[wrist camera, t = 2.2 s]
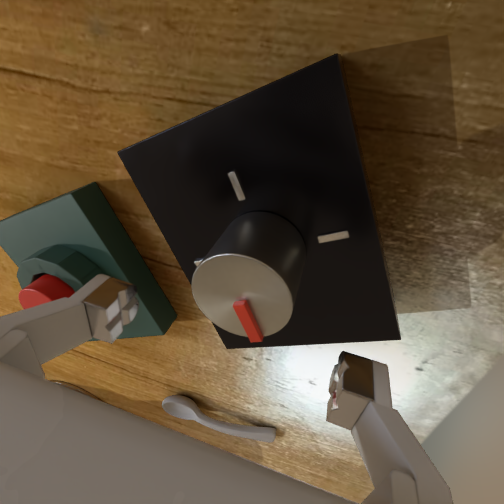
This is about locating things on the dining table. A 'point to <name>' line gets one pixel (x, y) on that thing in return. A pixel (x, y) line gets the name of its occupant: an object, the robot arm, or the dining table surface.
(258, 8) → the dining table surface
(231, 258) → the hob knob
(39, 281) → the button
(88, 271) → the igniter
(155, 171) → the hob panel
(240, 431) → the spoon
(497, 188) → the dining table surface
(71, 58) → the dining table surface
